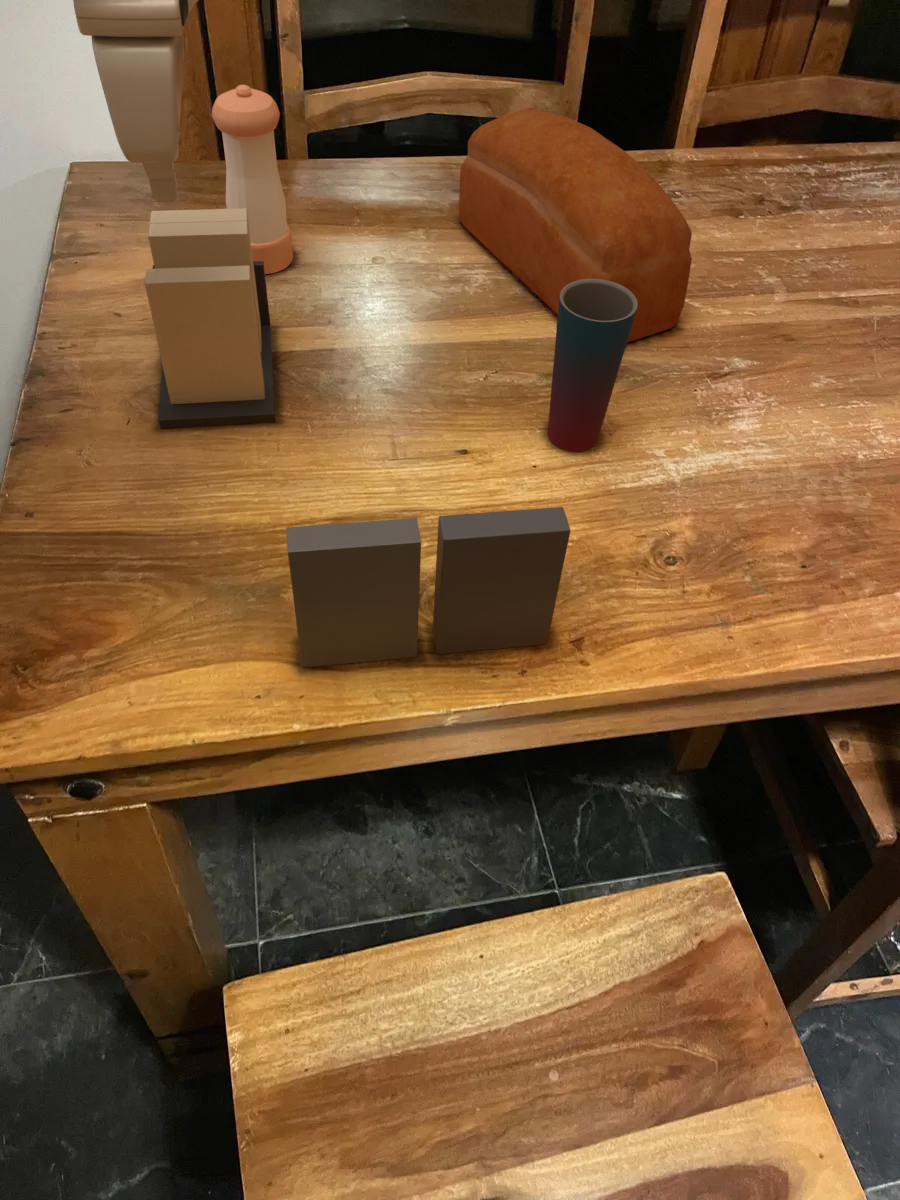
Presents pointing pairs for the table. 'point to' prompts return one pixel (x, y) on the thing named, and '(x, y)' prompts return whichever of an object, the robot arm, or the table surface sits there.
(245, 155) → the pepper shaker
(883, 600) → the table surface
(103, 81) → the robot arm
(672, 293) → the bread
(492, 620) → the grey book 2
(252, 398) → the brown flat block
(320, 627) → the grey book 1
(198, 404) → the book rack
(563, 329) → the cup
